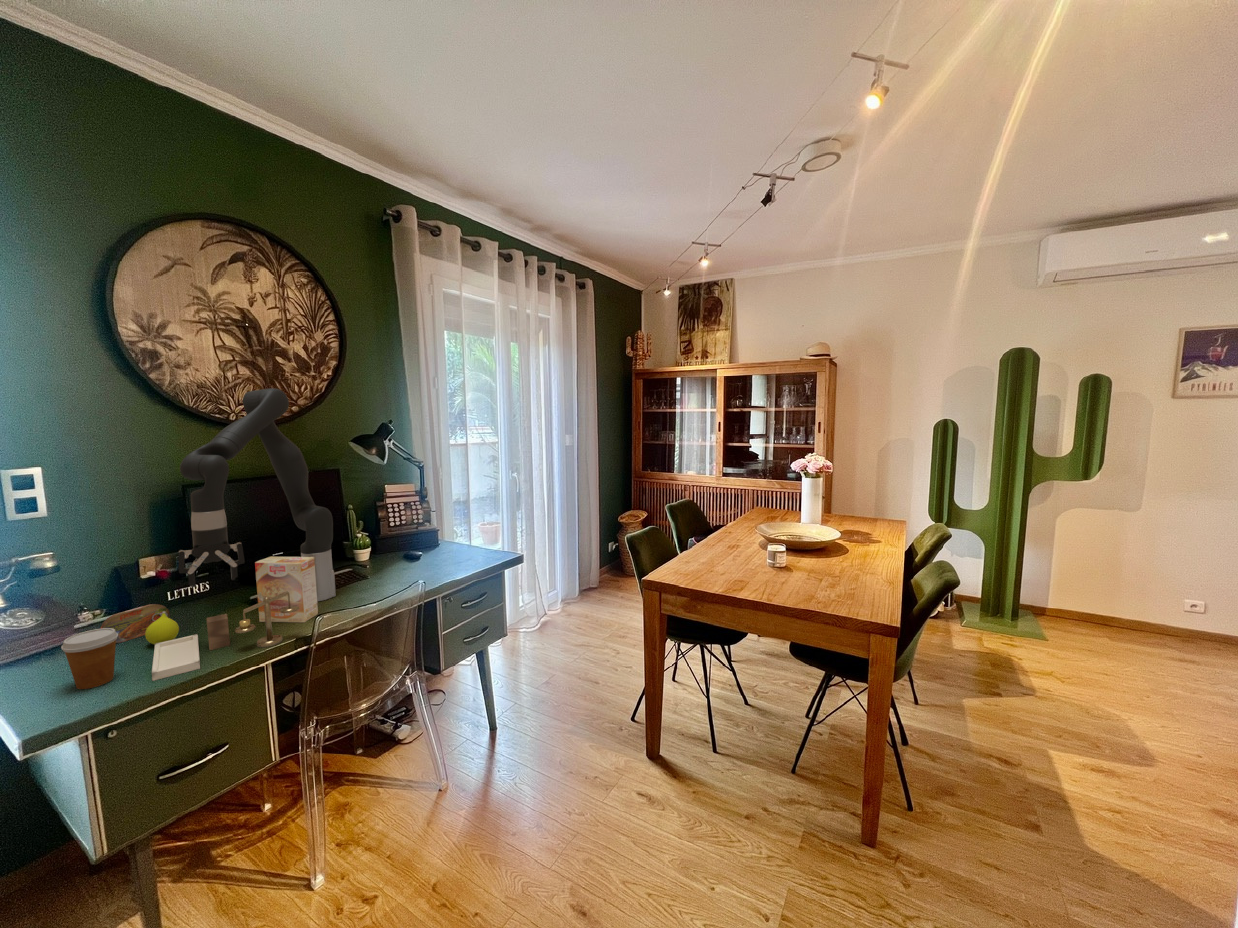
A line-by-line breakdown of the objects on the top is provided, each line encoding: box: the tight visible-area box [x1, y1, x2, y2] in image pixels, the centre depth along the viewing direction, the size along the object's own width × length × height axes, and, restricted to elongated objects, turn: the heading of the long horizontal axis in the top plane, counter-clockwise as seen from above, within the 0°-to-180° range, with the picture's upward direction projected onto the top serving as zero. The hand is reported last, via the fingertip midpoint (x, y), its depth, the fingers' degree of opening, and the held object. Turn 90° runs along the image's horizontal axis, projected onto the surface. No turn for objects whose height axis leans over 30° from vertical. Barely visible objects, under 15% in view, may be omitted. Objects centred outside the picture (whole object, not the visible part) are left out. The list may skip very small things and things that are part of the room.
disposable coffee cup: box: [60, 628, 118, 690], centre depth 121 cm, size 10×10×12 cm
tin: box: [100, 603, 171, 644], centre depth 147 cm, size 15×3×8 cm, turn 153°
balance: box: [234, 591, 299, 649], centre depth 141 cm, size 15×6×14 cm, turn 131°
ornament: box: [144, 611, 180, 645], centre depth 141 cm, size 7×7×10 cm
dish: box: [151, 633, 201, 682], centre depth 133 cm, size 9×21×2 cm, turn 41°
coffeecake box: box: [254, 555, 319, 623], centre depth 158 cm, size 15×7×20 cm, turn 87°
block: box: [206, 613, 231, 651], centre depth 140 cm, size 4×4×8 cm
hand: (213, 582), depth 139 cm, fingers open, 8 cm apart
